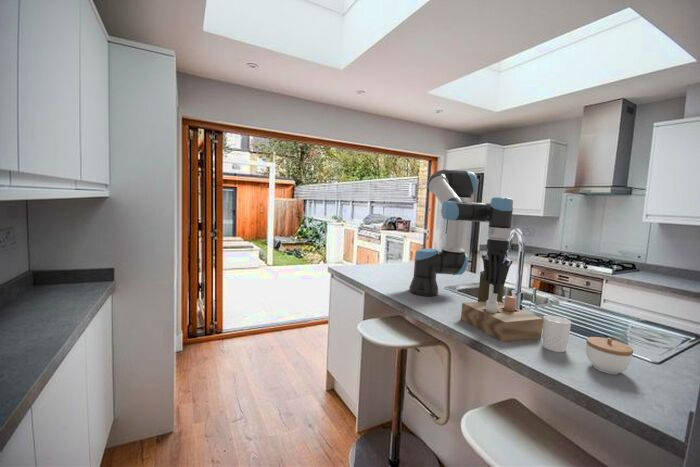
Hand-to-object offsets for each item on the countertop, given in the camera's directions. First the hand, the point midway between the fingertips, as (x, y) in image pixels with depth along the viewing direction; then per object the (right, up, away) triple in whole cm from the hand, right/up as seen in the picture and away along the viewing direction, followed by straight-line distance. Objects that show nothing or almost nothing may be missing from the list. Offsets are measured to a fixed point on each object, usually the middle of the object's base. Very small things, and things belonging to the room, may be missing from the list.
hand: (492, 301), depth 122 cm
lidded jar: (+22, -15, -27) cm, 37 cm away
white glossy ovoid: (0, -6, +1) cm, 6 cm away
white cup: (+15, -13, -13) cm, 24 cm away
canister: (+9, -10, +24) cm, 27 cm away
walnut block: (+4, -11, +3) cm, 12 cm away
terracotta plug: (+8, -5, +4) cm, 10 cm away
